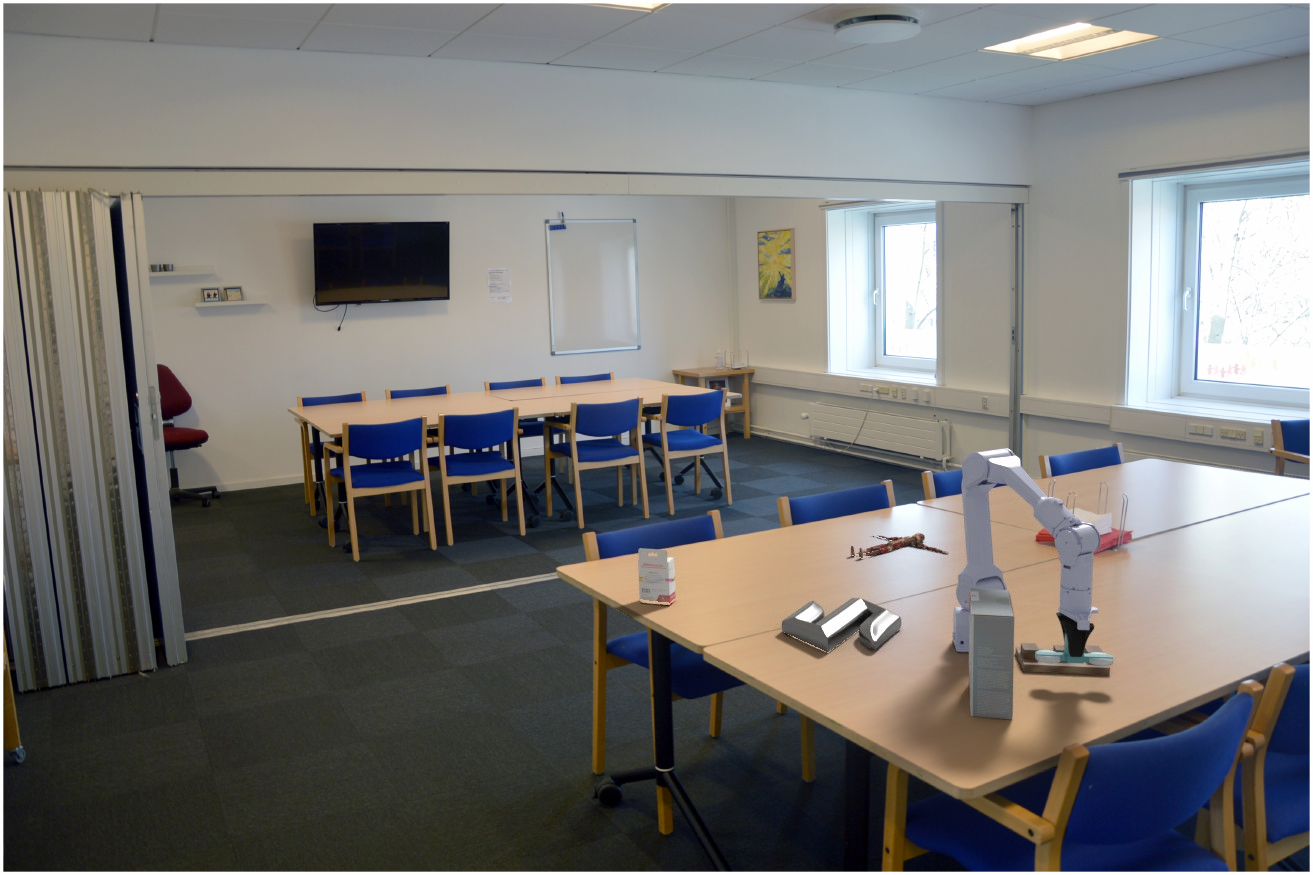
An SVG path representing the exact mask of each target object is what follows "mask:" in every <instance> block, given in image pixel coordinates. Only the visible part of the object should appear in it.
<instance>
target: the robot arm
mask: <svg viewBox="0 0 1313 875" xmlns="http://www.w3.org/2000/svg"><path fill="white" fill-rule="evenodd" d="M961 469H962V471H961V472H962V479H961V496H962V498H961V499H962V510H963V511H962V512H963V513H962V514H963V524H964V539H965V541H964V542H965V552H966V554H965V555H966V565H965V566H964V567H963V569H962V570H961V571H960V572H959V574H958V575H957V580H958V581H957V586H956V590H955V596H956V600H957V601H958V603H959V605H960V606H957V607H956V606H955V607H954V608H953V620H952V621H953V624H952V626H953V627H952V628H953V629H952V641H953V644H954V647H955V651H956V652H957V653H969V589H970V588H971V589H972V588H973V589H994V590H1008V587H1007V584H1006V583H1005V580H1004V577H1003V575H1004V574H1003V572H1004V571H1003V570H1002V569H1001V568H1000V567H998V566H997V565H996V564H994V551H993V535H992V524H991V522H992V521H991V509H990V498H989V497H990V496H989V495H990V494H989V493H990V492H991V491H992V489H993V488H994V487H995V486H997V484H1000V485H1001V484H1002V485H1007V486H1008V487H1009V488H1010V489H1011V490H1013V491H1014V493H1016V494H1017V495H1018V496H1019V497H1020V498H1021V499H1023V500H1024V501H1025V502H1026V503H1028V504H1029V505H1030V506H1031V508H1033V511H1032V512H1033V518H1034V519H1035V520H1036V521H1037V522H1038V523H1039V524H1040V525H1041V526H1042V527H1043V528H1044V529H1045V530H1046V531H1047V533H1049V534H1050V535H1051V536H1052V537H1053V538H1054V546H1055V549H1056V550H1057V552H1058V561H1060V562H1059V563H1060V577H1059V578H1060V581H1059V582H1060V584H1059V585H1060V586H1059V604H1058V607H1057V608H1058V609H1057V610H1058V612H1056V614H1055V615H1056V617H1057V619H1058V620H1059V624H1060V627H1061V631H1062V635H1063V643H1064V642H1065V633H1066V635H1067V641H1068V649H1069V654H1070V656H1071V657H1082V655H1083V652H1084V649H1085V645H1087V642H1088V640H1089V637H1090V635H1091V634H1092V632H1093V631H1094V630H1095V624H1094V623H1093V622H1091V620H1090V619H1091V617H1092V615H1093V614H1098V613H1099V609H1098V608H1097V607H1096V606H1093V604H1092V603H1093V596H1092V595H1093V581H1094V580H1093V575H1094V552H1097V551H1098V550H1099V548H1100V547H1101V544H1102V536H1101V535H1100V534H1101V533H1100V531H1099V530H1098V529H1097V528H1096V527H1095V525H1094V524H1093V523H1089V522H1084V521H1083V520H1081V519H1080V518H1079V517H1077V516H1075V515H1074V513H1073V512H1071V510H1069V509H1068V508H1067V507H1066V505H1064V504H1065V503H1064V501H1063V500H1062V499H1061V498H1057V497H1055V496H1049V497H1048V496H1047V494H1046V493H1044V492H1043V491H1042V489H1041V488H1040V487H1039V485H1037V483H1036V482H1035V481H1034V480H1033V478H1032V477H1031V476H1030V475H1029V474H1028V473H1027V472H1026V471H1025V469H1024V468H1023V467H1022V463H1021V458H1020V457H1018V456H1017V455H1016V454H1015V453H1014V452H1013V450H1011V449H1009V448H1007V447H1001V448H998V449H992V450H991V449H990V450H984V451H972V452H970V453H969V454H967V455H966V457H965V458H963V460H962V461H961Z"/></svg>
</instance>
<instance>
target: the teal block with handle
mask: <svg viewBox="0 0 1313 875" xmlns="http://www.w3.org/2000/svg"><path fill="white" fill-rule="evenodd" d="M1063 643H1064V653H1062V652H1054V651H1050V650H1039V651H1035V659H1036V660H1038V661H1040V662H1043V663H1049V664H1054V663H1059V662H1060V661H1067V663H1083V664H1084V662H1089V663H1091V664H1094V665H1099V666H1109V667H1110V666H1112V665H1113V664H1114V656H1113V655H1112V654H1110V653H1105V652H1104V653H1101V652H1092V653H1088V654H1086V653H1084V652H1083V655H1082V657H1071V656H1070V654H1069V649H1068V641H1067V635H1066V633H1065V642H1064V641H1063Z"/></svg>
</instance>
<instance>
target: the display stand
mask: <svg viewBox="0 0 1313 875" xmlns="http://www.w3.org/2000/svg"><path fill="white" fill-rule="evenodd" d="M1052 646H1053V647H1038V645H1037V643H1031V642H1030V643H1029V642H1020V646H1015V655H1016V658H1017V660H1018V662H1019V664H1020V666H1021V668H1022V671H1023V672H1032V673H1033V672H1034V673H1055V674H1056V673H1058V674H1077V675H1078V674H1079V675H1081V674H1082V675H1100V676H1102V675H1103V676H1104V675H1105V676H1110V673H1111V667H1110V665H1109V666H1099V665H1094V664H1091V663H1089V662H1084V664H1083V663H1067V661H1060V662H1059V663H1054V664H1049V663H1043V662H1040V661H1038V660H1036V659H1035V651H1039V650H1050V651H1054V652H1062V653H1064V645H1063V644H1058V645H1057V644H1053V645H1052ZM1092 652H1101V653H1105V651H1103V650H1102V648H1101V647H1100V645H1089V644H1088V645H1087V644H1086V645H1085V649H1084V653H1086V654H1088V653H1092Z"/></svg>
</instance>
